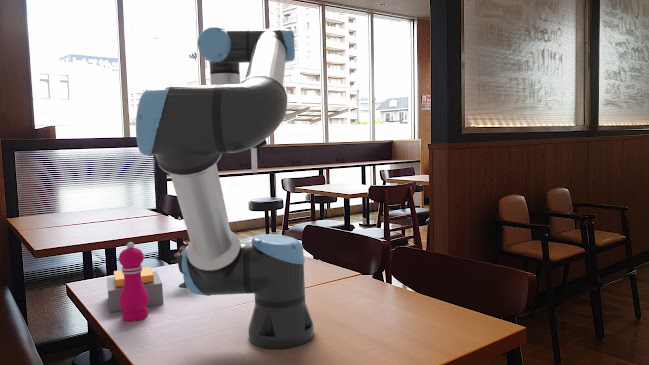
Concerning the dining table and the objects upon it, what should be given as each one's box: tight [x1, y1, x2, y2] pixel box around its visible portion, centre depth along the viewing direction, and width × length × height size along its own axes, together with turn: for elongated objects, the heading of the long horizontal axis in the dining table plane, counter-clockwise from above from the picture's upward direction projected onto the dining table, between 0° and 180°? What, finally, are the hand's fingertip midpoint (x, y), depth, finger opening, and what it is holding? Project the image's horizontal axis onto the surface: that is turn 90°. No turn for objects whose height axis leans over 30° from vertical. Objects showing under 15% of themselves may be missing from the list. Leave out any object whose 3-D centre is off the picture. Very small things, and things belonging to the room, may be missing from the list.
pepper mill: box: [118, 241, 149, 322], centre depth 132 cm, size 7×7×20 cm
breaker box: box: [106, 271, 164, 313], centre depth 146 cm, size 14×14×6 cm
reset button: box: [113, 266, 154, 287], centre depth 145 cm, size 10×10×7 cm
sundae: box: [173, 238, 190, 289], centre depth 159 cm, size 7×7×15 cm
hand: (229, 174), depth 132 cm, fingers open, 13 cm apart
